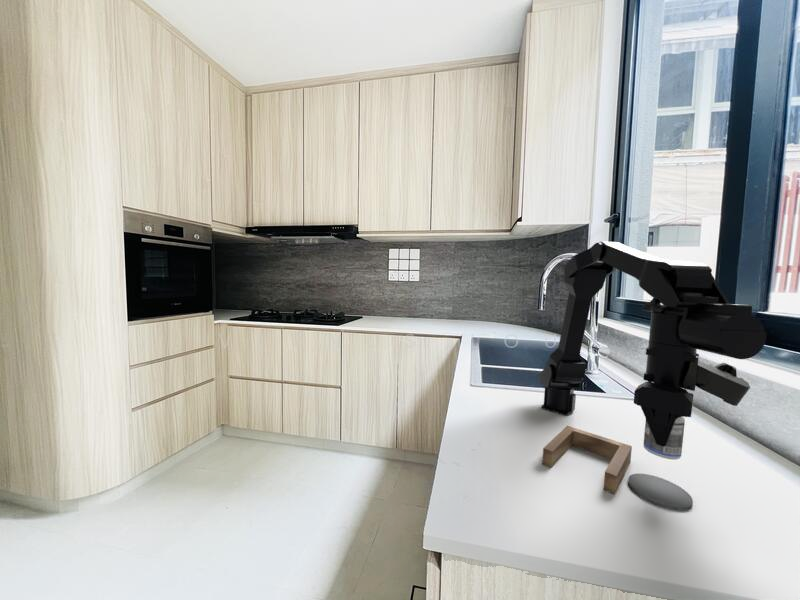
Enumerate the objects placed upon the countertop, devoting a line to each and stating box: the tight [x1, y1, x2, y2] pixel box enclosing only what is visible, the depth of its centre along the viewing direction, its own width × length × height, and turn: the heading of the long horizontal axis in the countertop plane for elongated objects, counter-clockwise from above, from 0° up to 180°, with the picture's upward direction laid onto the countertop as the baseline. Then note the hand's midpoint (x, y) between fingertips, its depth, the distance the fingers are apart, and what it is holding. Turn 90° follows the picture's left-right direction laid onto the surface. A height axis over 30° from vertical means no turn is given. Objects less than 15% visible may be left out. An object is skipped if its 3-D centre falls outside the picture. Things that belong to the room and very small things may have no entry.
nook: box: [541, 425, 633, 495], centre depth 59 cm, size 11×14×3 cm
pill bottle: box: [643, 416, 686, 460], centre depth 51 cm, size 5×5×8 cm
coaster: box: [627, 473, 693, 511], centre depth 51 cm, size 8×8×1 cm
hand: (662, 439), depth 51 cm, fingers closed on pill bottle, 5 cm apart
